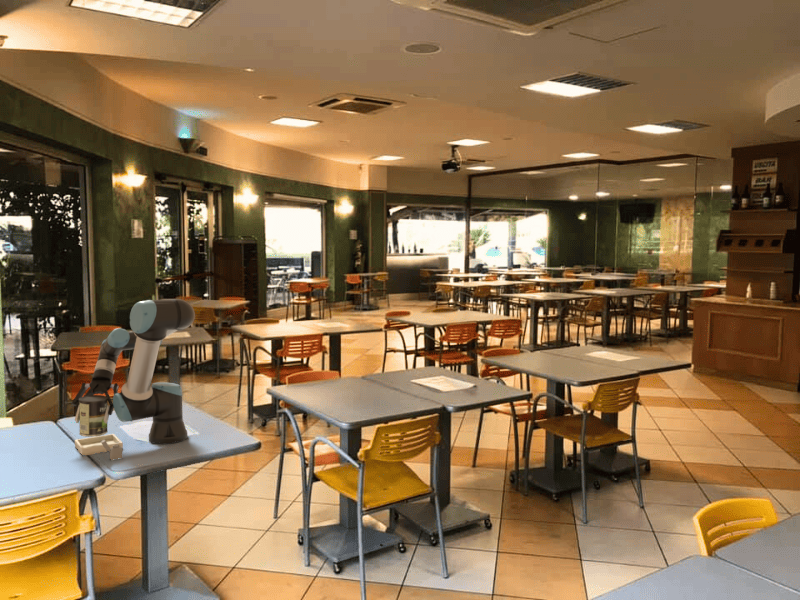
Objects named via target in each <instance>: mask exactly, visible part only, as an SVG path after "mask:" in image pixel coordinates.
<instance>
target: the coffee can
mask: <svg viewBox="0 0 800 600" xmlns="http://www.w3.org/2000/svg"><path fill="white" fill-rule="evenodd" d="M83 396H84V395H83ZM83 396H82V397H81V398H79V416H80V418H79V419H80V420H79V435H80V436H81V437H86V438H90V437H97V436H103V435H107V433H108V423H107V424H106V423H105V422H104V417H105V413H106V409H107V405H108V397H107V396H106V395H104V394H94V395H90V396H84V397H83Z"/></svg>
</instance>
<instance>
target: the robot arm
mask: <svg viewBox="0 0 800 600" xmlns="http://www.w3.org/2000/svg"><path fill="white" fill-rule="evenodd" d="M195 318H196V313H195V309H194V307H193V306H192V305H191V304H190V303H189V302H188V301H186V300H184V299H180V298H168V299H167V298H166V299H154V300H152V299H146V300H142V301H138V302H136V303H135V304H134V305H133V306H132V308H131V311H130V314H129V326H130V328H131V330H130V331H128V330H126V329H125V328H120V327H118V328H114V329H113V330H112V331H111V332H110V333H108V336H107V338H106V339H104V340H103V341H102V343H101V345H100V347H99V348H100V349H99V353H98V357H97V361H96V364H95V367H94V370H93V371H94V372H93V375H92V378H91V380H90V383H86V382H81V387H80V388H79V390H78V392H77V394H76V395H75V397H74V398H73V400H72V401H71V403H72V406H73V407H75V408H74V414H75V418H74V421H75V423H76V424H80V419H79V418H80V416H79V398H81V397H84V396H90V395H104V396H107V397H108V400H107V403H108V404H109V405H108V404H107V409H106V413H105V417H104V422H105V423H106V424H107V425H108V423H109V422H108V421H109V417H110V416H112V415H113V411H114V413H115V416H116V417H117V419H118V420H119V421H120V422H122V423H127V422H133V421H138V420H142V419H149V418H152V424H151V427H150V430H149V433H148V441H149V442H150V443H151V444H157V445H166V444H175V443H179V442H182V441H185V440H186V439H188V430H187V429H186V428H187V427H186V425H185V421H184V417H183V416H184V415H183V389H182V387H181V385H180V384H178V383H173V382H166V381H165V382H164V381H163V382H153V383H152V380H153V375H154V372H155V367H156V363H157V357H158V355H159V354H158V353H159V349H160V346H161V345H162V342H163V340H165V339H166V338H167V337H169V336H170V335H173V334H174V333H176V332H177V331H184V330H186V329H188V328H189V327H190V326H191V325H192V324H193V323H194V322H195ZM128 350H133V353H132V358H131V363H130V368H129V372H128V377H127V380H126V381H127V382H125V383H124V384H123V385H122V386H121V389H120V392H119V391H118V390H119V384H118V382H116V383H113V384H112V382H113V380H114V379H113V378H114V374H115V370H116V367H117V364H118V363H117V362H118V359H119V356H120V354H121V353H122V352H123V351H128ZM110 389H112V390H113V397H112V399H111V397H110V394H109V390H110ZM86 391H87V392H86Z"/></svg>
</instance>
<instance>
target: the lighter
mask: <svg viewBox="0 0 800 600" xmlns="http://www.w3.org/2000/svg"><path fill="white" fill-rule="evenodd" d="M101 443H102V445H103V446H104V448H105V449H106V451H109V450H110V451H109V460H110V459H111V460H112V461H114V460H113V459H117V460H119V459H118V458H122V459H123V449H122V447H121V446H120V445H113V448H110V447H109V446H108V444H107V442H106V441H105V440H103V441H101ZM111 460H110V461H111Z"/></svg>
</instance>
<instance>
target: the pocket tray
mask: <svg viewBox="0 0 800 600" xmlns="http://www.w3.org/2000/svg"><path fill="white" fill-rule="evenodd" d="M103 440H105V441H106V442H107V444H108V446H109V447H110V448H113V445H120V446H121V447H122V450H123V449H124V445H123V444H124V443H123V442H122V440H121V439H120V438H119V437H117V435H116V434H115V433H109V434H104V435H101V436H95V437H86V438H79V439H74V448H76V449H78V450H77V451H78V452H79V454H80V453H81V454H82V455H85V456H91V455H95V453H97V454H101V453H100V452H103V453H106V452H107V451H106V449H105V448H104V446H103V445H102V443H101V441H103ZM109 452H110V450H109ZM107 453H108V452H107ZM81 454H80V455H81ZM82 455H81V456H82Z"/></svg>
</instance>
